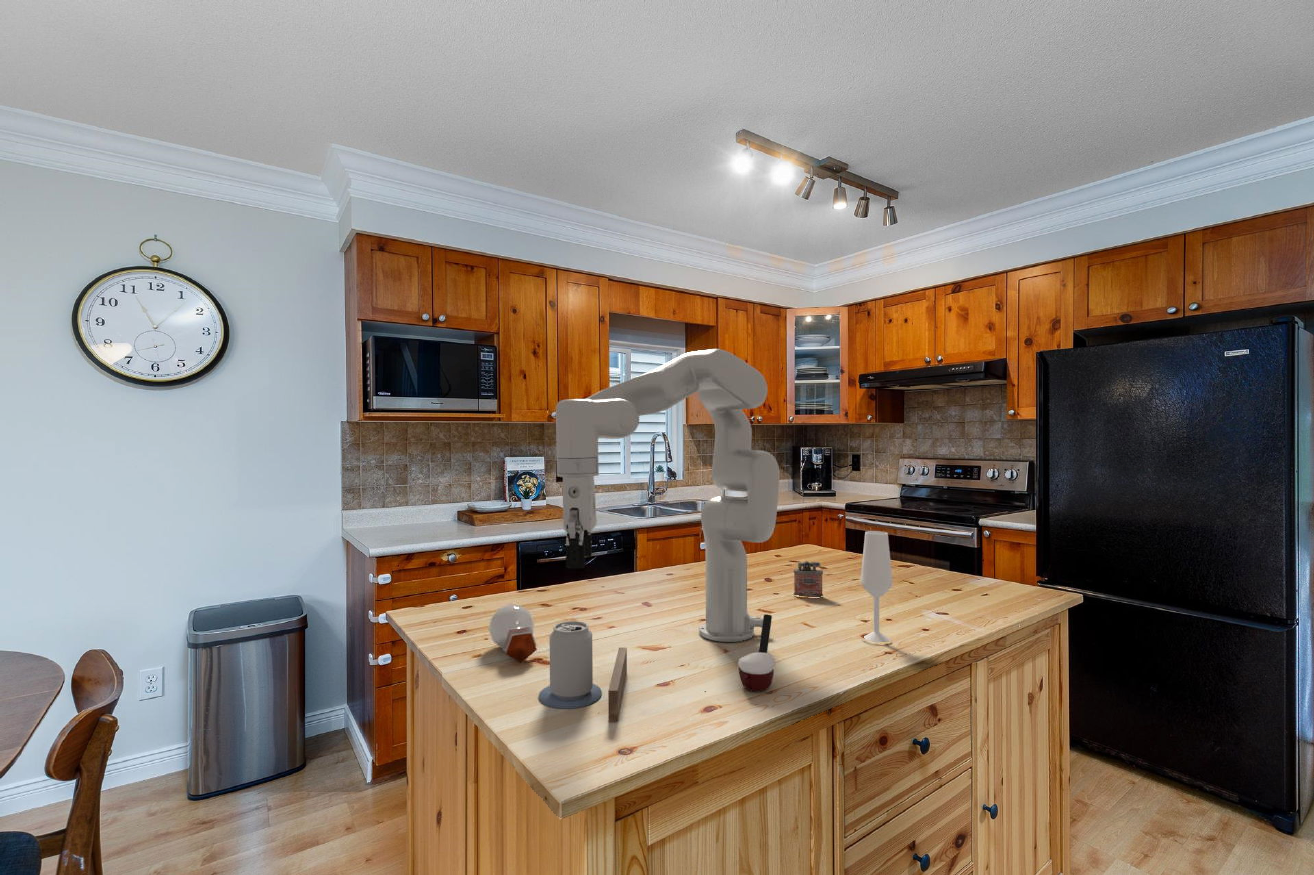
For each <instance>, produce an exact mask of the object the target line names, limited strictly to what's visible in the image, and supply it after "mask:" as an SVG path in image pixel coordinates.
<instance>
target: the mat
mask: <svg viewBox="0 0 1314 875" xmlns="http://www.w3.org/2000/svg"><path fill="white" fill-rule="evenodd" d="M602 692H603V691H602V688H600V686H598V685H597V684H595V683H593V687H592V690H591V691H589V692H588V694H587V695H586V696H584V697H582V698H579V699H574V700H564V699H560V698H557V697H556V696H555V695H554V694H553V693H552V692H551V691H550V685H548V686H546V687H544V688H542V689H541V691H539V694H538V700H539V701H541V702H542V703H541V704H543V705H544V706H546V705H547V707H549V708H553V707H554V709H564V710H566V709H567V710H570V709H578V708H583V707H587V706H590V705H592V704H594V703H596V702H598V701H599V700H600V698H601V697H602V695H603V693H602Z"/></svg>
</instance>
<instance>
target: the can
mask: <svg viewBox="0 0 1314 875" xmlns="http://www.w3.org/2000/svg"><path fill="white" fill-rule="evenodd" d="M552 629H553V631H552V632H551V633H549V686H550V691H551V692H552V693H553V694H554V695H555V696H556V697H557V698H560V699H564V700H574V699H579V698H582V697H584V696H586V695H587V694H588V692H589V691H591V690H592V687H593V684H594V683H593V679H594V677H593V669H594V668H593V667H594V665H593V662H594V661H593V633H592V631H591V629H590V628H589V624H588V623H586V622H584V621H578V620H569V621H563V622H559V623H556V624H555V625H553V627H552Z"/></svg>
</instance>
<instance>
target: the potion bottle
mask: <svg viewBox="0 0 1314 875" xmlns="http://www.w3.org/2000/svg"><path fill="white" fill-rule="evenodd" d="M534 627H535V622H534V620H533V616H532V613H531V611H530V610H528V609H526V608H525V607H523V606H521V605H520V604H513V603H509V604H507V605H504V606H502V607H499V608H497V610H496V611H495V612H494V614H493V615H492V617H491V618H490V621H489V626H488V631H489V634H490V638H491V640H492V642H493V644H495V645H496V646H498V647H500V648H501V649H502V651H503V652H504V653H505V656H508V657H510V658H511V659H514V660H515V661H517V662H519V663H520V664H521V663H523V662H524V661H525V660H527V659H528V658H530V656H531V655H533V654H534V653H535V652H537V647H536V646H537V643H536V640H535V636H534V631H535V630H534Z"/></svg>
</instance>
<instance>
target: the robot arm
mask: <svg viewBox="0 0 1314 875" xmlns="http://www.w3.org/2000/svg"><path fill="white" fill-rule="evenodd" d="M695 393H697V396H698V399H699V401H700V402H701V404H702V405H703V406H704V408H705V409H706V411H707V412H708V414H709V415H710V417H711V419H712V422H713V425H714V431H715V432H714V447H713V455H712V456H713V457H712V458H713V459H712V469H711V471H712V472H711V478H712V482H713V484H714V486H715V487H717V488H718V489H721V490H725V491H730V492H742V493H747V497H738V496H727V495H726V496H725V495H723V496H722V495H720V496H719V495H718V496H714V497H712V498H709V499H708V500H706V502H705V503H704V504H703V506H702V509H701V513H700V522H701V527H702V534H703V537H704V546H705V548H704V549H705V622H704V623H702V624H700V626H699V627H698V633H699V635H700V636H701V637H702V638H704V639H707V640H710V641H715V642H721V643H722V642H723V643H737V642H743V640H744V641H748V640H750V639H752V638H753V637H754V635H755V628H762V624H763V618H762V617H761V616H751V615H749V612H748V556H747V552H746V549H745V546H744V545H743V542H750V543H764V542H767V541H768V540H769V539H770V538H771V537H772V535H773V533H774V530H775V527H776V522H777V512H778V501H779V490H780V489H779V488H780V468H779V464H778V462H777V460H776V457H775V456H774V455H773V454H771V453H770V452H768V451H766V450H765V451H764V450H759V449H752V437H753V436H752V434H753V430H752V426H751V423H750V420H749V418H748V416H747V415H746V413H745V412H744V411H743V410H751V409H756V408H758V407H760V406H761V405H763V403H764V402H765V401H766V399H767V397H768V384H767V382H766V379H765V377H764V375H763V374H762V373H761V372H760V371H758V370H757V369H756V368H755V367H753V366H752V365H750V364H748V363H747V362H746V361H744V360H743V359H742V358H740V357H738V356H736V355H735V354H733V353H732V352H730V351H727V350H724V349H720V348H712V349H705V350H697V351H690V352H686V353H683V354H680V356H677V357H675V358H673V359H672V360H670V361H667V362H666V363H664V364H662V365H660V366H658V367H656V368H654V369H652V370H650V371H649V372H646V373H643V374H641V375H638V376H635V377H632V378H631V379H628V380H626V381H624V382H623V381H622V382H620V383H617V384H614V385H611V386H610V387H607V388H604V389H602V390H600V391H597V392H596V393H594V394H592V395H590V396H588V397H586V398H574V399H573V398H571V399H570V398H569V399H562V400H560V401H558V402H557V403H556V406H555V437H556V438H555V440H556V446H555V448H556V476H557V477H560V478H562V521H563V522H562V523H563V531H565V532H566V539H565V568H566V569H570V570H571V569H584V568H585V567H586V557H591V556H592V555H593V554H592V553H593V552H592V551H593V550H592V548H593V546H592V544H593V543H592V534H591V533H592V531H593V530H594V528H596V525H597V507H596V505H597V504H596V487H595V486H596V484H595V477H596V476H599V475H600V474H599V472H600V471H599V467H600V466H599V465H600V464H599V463H600V462H599V439H606V440H608V439H610V440H612V439H613V440H616V439H617V440H618V439H624V438H627V437H630V436H631V435H632V434H634V433H635V432H636V431H637V429H638V427H639V425H640V416H647V415H653V414H657V413H660V412H664V411H667V410H669V409H671V408H672V407H674V406H676V405H677V404H678V403H680V402H682V401H683V400H685V399H687V398H689V397H691V396H692V395H694V394H695ZM752 636H753V637H752ZM749 638H750V639H749ZM747 639H748V640H747Z"/></svg>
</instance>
